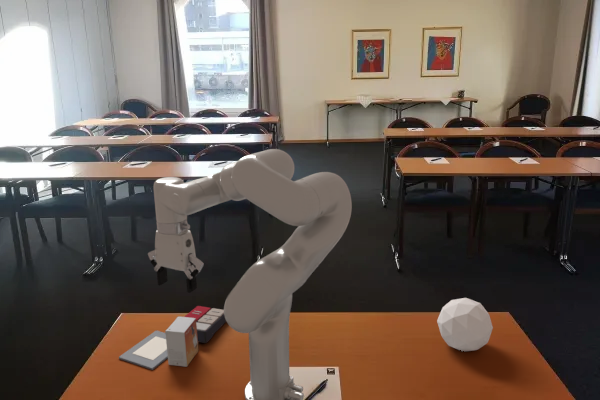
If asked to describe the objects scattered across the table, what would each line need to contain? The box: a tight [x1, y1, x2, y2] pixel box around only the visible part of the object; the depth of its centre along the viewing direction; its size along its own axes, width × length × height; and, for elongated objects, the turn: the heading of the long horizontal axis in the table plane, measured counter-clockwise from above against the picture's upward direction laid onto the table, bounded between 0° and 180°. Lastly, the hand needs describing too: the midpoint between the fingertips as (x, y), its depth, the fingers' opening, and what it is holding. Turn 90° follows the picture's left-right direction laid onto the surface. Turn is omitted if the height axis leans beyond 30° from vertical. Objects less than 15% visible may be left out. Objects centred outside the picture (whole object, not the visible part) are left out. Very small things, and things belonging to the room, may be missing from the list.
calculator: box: [183, 305, 227, 344], centre depth 145 cm, size 11×4×15 cm
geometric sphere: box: [436, 297, 494, 352], centre depth 134 cm, size 14×15×15 cm
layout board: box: [118, 330, 168, 371], centre depth 136 cm, size 12×15×1 cm
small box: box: [164, 316, 199, 367], centre depth 131 cm, size 8×6×10 cm
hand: (177, 286), depth 126 cm, fingers open, 9 cm apart
